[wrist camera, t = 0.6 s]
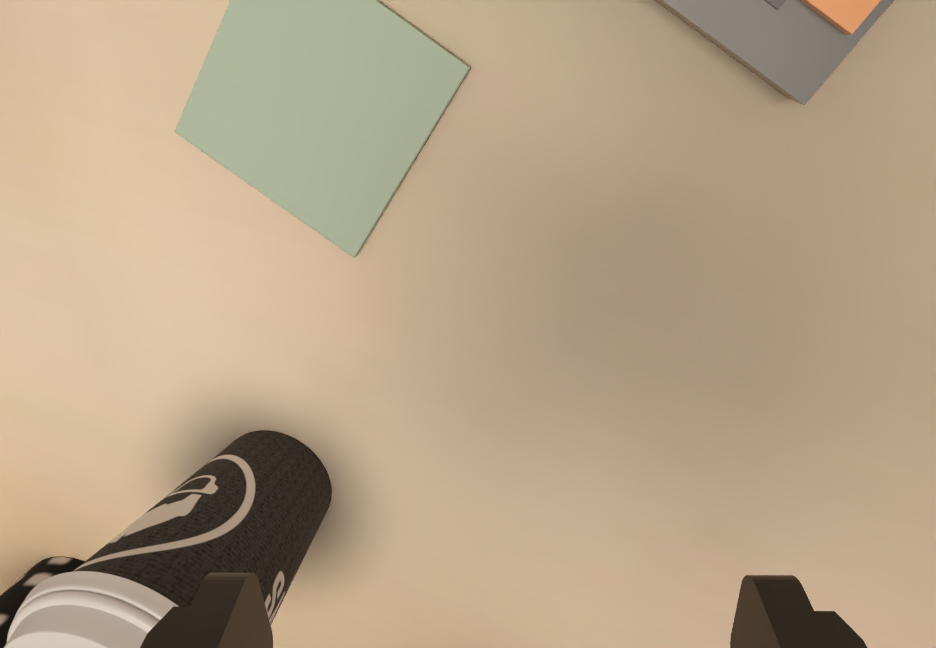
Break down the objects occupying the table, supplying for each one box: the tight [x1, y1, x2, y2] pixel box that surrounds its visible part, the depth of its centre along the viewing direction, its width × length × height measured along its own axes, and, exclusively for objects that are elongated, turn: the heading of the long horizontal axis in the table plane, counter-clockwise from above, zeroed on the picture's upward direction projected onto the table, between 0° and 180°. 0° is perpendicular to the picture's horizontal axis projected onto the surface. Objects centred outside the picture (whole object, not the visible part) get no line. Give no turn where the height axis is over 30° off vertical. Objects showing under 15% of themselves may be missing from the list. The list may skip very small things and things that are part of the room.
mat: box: [175, 0, 471, 257], centre depth 31 cm, size 10×10×1 cm
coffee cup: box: [4, 431, 331, 648], centre depth 32 cm, size 10×10×15 cm
